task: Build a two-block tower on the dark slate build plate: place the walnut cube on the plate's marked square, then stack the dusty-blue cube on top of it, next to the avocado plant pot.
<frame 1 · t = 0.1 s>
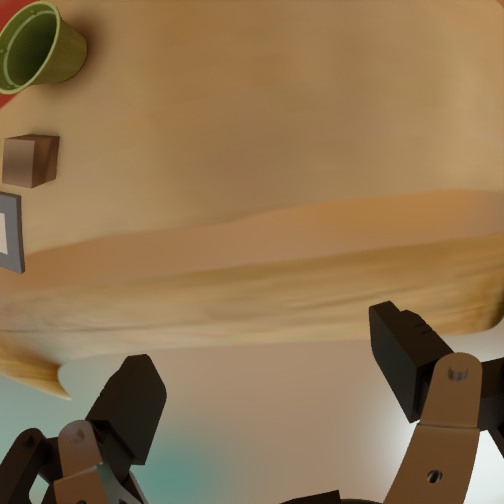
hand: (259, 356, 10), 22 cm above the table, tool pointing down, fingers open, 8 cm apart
plant pot: (66, 57, 23), on the table
walnut block: (42, 155, 27), on the table
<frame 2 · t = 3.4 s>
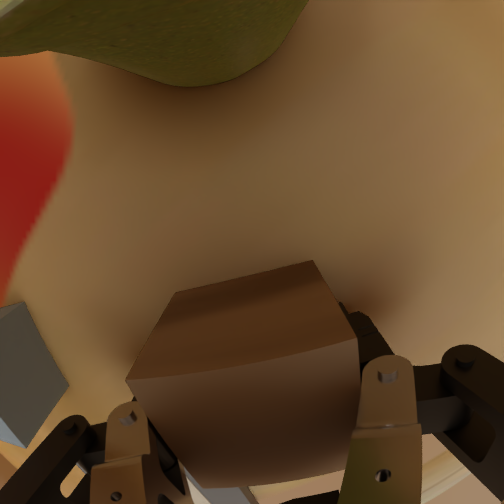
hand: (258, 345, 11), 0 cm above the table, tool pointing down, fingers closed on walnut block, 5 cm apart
plant pot: (201, 17, 8), on the table
build plate: (165, 484, 15), on the table
blue block: (20, 348, 12), on the table
walnut block: (259, 336, 11), on the table, touching gripper
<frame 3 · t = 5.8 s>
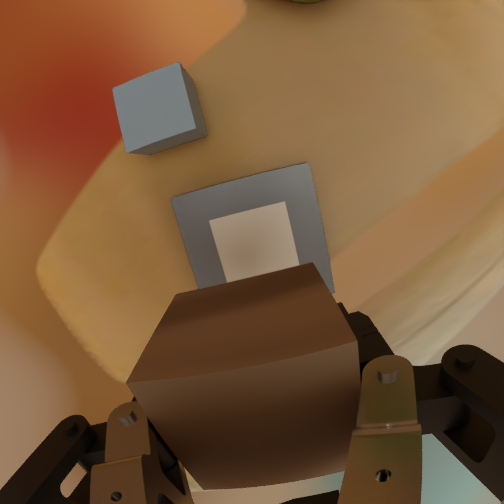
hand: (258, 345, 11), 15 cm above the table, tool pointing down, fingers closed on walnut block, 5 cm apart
build plate: (256, 244, 25), on the table
blue block: (171, 117, 22), on the table
walnut block: (259, 338, 11), point 14 cm above the table, touching gripper
when the fingers open (2 cm above the table, at t = 8.3 s): walnut block stays where it is, resting on build plate.
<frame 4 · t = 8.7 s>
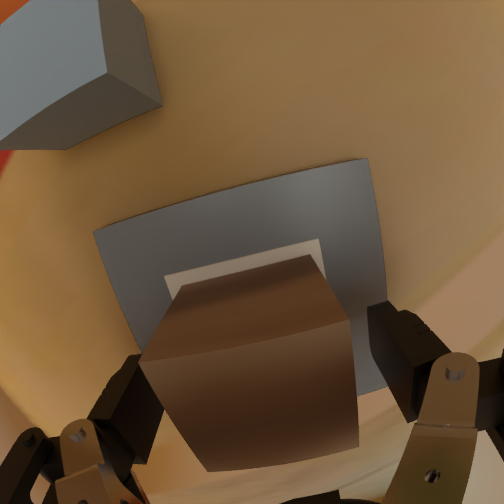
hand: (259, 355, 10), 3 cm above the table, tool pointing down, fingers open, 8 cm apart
build plate: (258, 314, 13), on the table
blue block: (100, 79, 10), on the table
walnut block: (260, 327, 12), point 1 cm above the table, touching build plate
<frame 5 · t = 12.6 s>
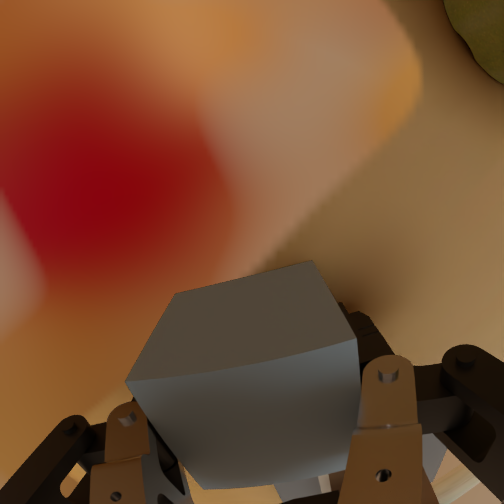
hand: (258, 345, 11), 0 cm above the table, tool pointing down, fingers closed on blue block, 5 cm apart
plant pot: (486, 31, 7), on the table
build plate: (365, 467, 14), on the table
blue block: (259, 337, 11), on the table, touching gripper
walnut block: (371, 479, 13), point 1 cm above the table, touching build plate
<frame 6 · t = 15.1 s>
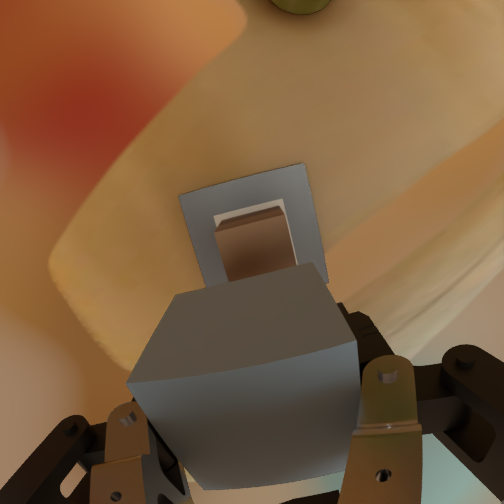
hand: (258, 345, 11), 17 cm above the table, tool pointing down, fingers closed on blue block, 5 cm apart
build plate: (256, 237, 27), on the table
blue block: (259, 338, 11), point 16 cm above the table, touching gripper
walnut block: (257, 240, 26), point 1 cm above the table, touching build plate
when the fingers open (8 cm above the table, at t = 17.6 s): blue block stays where it is, resting on walnut block.
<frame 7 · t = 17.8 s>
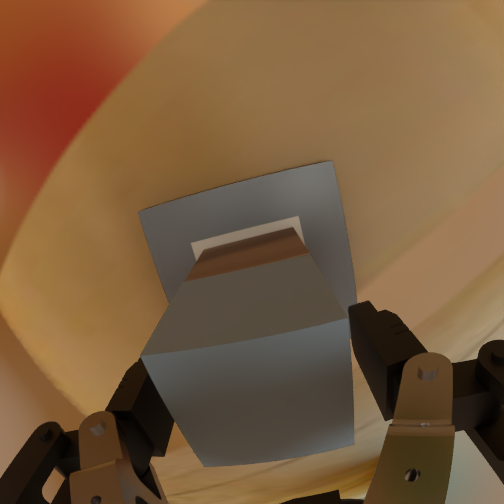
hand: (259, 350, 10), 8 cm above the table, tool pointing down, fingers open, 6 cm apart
build plate: (257, 273, 18), on the table
blue block: (259, 325, 12), point 6 cm above the table, touching walnut block
walnut block: (259, 280, 17), point 1 cm above the table, touching blue block, build plate
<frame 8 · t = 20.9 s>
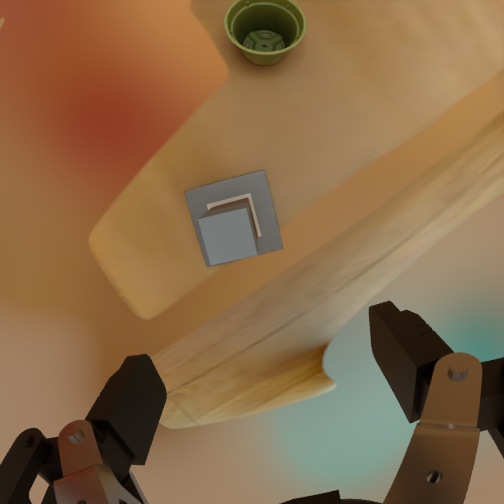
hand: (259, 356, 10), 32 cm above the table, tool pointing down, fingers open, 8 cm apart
plant pot: (263, 48, 34), on the table
build plate: (234, 218, 41), on the table
blue block: (231, 227, 35), point 6 cm above the table, touching walnut block
walnut block: (234, 220, 40), point 1 cm above the table, touching blue block, build plate
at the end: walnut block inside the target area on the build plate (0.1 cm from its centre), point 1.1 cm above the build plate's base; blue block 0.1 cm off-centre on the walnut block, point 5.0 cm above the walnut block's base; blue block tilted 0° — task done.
